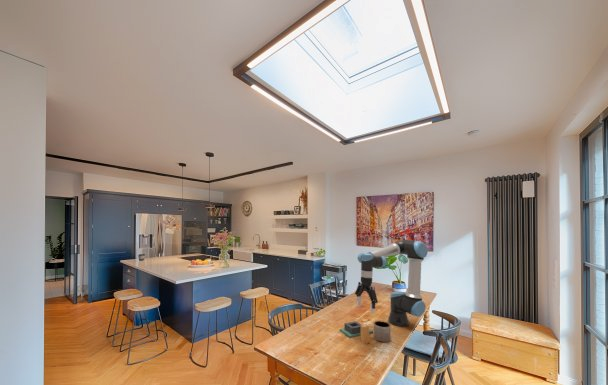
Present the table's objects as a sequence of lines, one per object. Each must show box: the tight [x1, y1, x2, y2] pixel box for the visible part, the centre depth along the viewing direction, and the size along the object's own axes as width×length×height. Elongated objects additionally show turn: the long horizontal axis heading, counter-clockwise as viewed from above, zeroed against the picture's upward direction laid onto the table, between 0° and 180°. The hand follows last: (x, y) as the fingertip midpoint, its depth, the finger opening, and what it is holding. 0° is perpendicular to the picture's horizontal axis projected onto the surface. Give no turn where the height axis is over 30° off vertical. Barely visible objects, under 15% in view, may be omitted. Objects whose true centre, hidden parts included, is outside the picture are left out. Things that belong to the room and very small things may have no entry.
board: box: [339, 320, 374, 339], centre depth 181 cm, size 20×12×5 cm, turn 116°
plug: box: [359, 324, 370, 345], centre depth 167 cm, size 4×3×10 cm, turn 116°
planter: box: [373, 320, 391, 343], centre depth 172 cm, size 11×11×10 cm
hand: (365, 309), depth 169 cm, fingers open, 13 cm apart
